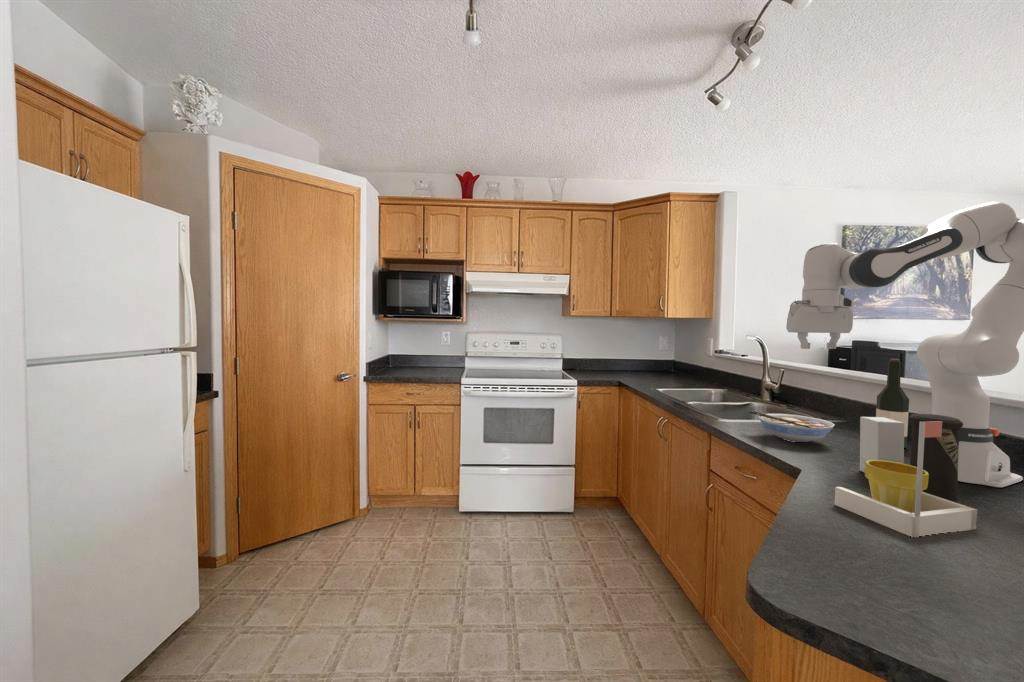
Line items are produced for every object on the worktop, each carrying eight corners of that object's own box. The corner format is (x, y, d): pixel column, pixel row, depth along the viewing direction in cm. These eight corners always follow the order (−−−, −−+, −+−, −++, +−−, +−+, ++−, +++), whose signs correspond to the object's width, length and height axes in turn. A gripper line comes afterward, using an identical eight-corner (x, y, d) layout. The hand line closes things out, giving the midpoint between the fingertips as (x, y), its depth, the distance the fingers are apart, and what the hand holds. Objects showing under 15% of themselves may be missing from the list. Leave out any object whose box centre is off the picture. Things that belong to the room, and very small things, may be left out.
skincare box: (904, 482, 113) (907, 423, 113) (875, 480, 114) (878, 421, 114) (883, 471, 121) (886, 416, 121) (856, 469, 123) (859, 415, 122)
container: (949, 509, 96) (954, 420, 95) (898, 495, 104) (903, 412, 103) (965, 502, 100) (970, 417, 99) (915, 489, 108) (919, 410, 107)
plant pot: (912, 505, 98) (914, 463, 97) (936, 525, 88) (939, 477, 88) (856, 498, 102) (858, 456, 101) (873, 515, 92) (875, 470, 92)
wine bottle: (913, 449, 145) (918, 360, 144) (888, 449, 145) (893, 359, 144) (892, 442, 153) (896, 358, 152) (868, 442, 153) (872, 357, 152)
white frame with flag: (891, 498, 102) (896, 405, 101) (976, 529, 87) (982, 420, 86) (834, 504, 98) (839, 407, 97) (912, 537, 83) (919, 423, 82)
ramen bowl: (854, 449, 144) (855, 424, 144) (797, 452, 139) (798, 426, 139) (791, 430, 169) (792, 410, 168) (740, 432, 164) (741, 411, 163)
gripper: (800, 299, 119) (799, 349, 119) (858, 301, 124) (856, 349, 124) (781, 300, 125) (779, 348, 125) (837, 302, 130) (835, 348, 130)
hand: (818, 348), depth 125 cm, fingers open, 8 cm apart
